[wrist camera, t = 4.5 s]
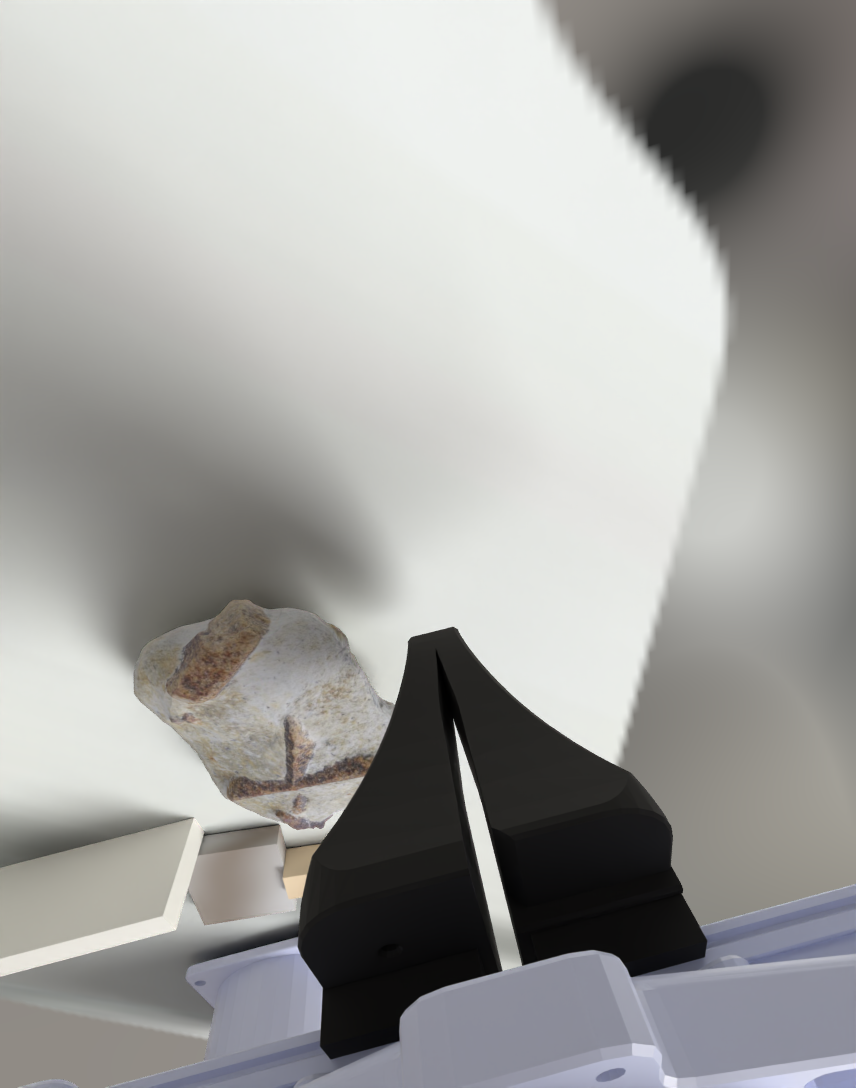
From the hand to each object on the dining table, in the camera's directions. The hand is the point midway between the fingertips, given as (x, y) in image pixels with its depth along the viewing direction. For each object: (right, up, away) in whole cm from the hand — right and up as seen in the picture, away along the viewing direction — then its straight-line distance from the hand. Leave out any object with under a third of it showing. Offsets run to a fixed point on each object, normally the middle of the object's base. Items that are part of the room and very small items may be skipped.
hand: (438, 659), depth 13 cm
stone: (-4, +1, +2) cm, 4 cm away
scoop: (-4, -11, +8) cm, 14 cm away
